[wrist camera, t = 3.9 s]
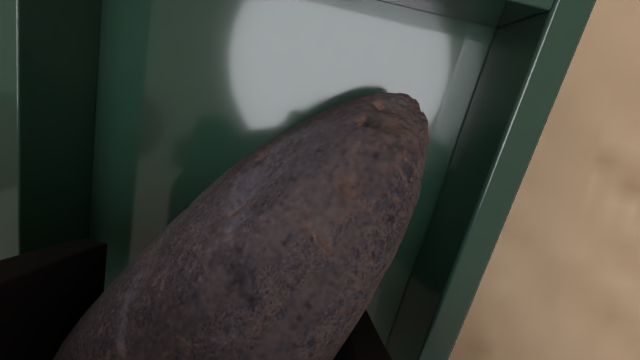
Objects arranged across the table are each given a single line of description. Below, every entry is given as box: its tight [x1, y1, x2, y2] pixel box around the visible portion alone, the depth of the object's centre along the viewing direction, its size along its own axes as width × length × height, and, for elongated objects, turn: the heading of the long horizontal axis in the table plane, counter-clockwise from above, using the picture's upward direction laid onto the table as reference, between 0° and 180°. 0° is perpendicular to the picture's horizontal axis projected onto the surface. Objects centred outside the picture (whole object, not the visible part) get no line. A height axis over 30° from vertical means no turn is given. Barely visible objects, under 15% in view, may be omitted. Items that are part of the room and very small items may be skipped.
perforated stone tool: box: [53, 92, 430, 360], centre depth 9 cm, size 15×5×7 cm, turn 139°
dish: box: [0, 0, 596, 360], centre depth 11 cm, size 13×19×3 cm, turn 167°
